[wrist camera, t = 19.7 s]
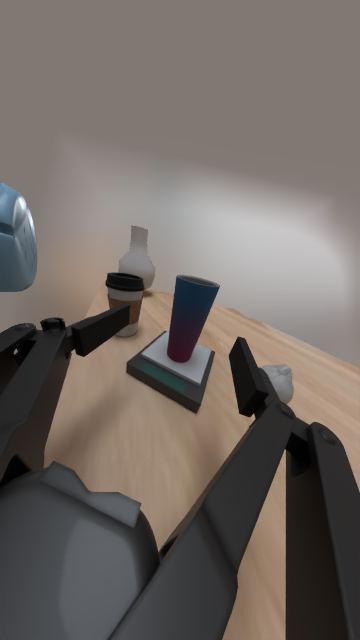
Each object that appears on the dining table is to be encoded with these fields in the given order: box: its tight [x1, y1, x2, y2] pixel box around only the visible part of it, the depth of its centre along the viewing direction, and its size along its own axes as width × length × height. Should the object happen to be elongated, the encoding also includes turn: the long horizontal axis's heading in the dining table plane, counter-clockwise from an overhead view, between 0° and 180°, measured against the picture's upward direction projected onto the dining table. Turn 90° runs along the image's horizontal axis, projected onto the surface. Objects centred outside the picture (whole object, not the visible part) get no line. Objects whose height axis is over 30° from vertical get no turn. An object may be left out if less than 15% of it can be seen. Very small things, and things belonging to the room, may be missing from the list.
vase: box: [119, 226, 155, 294], centre depth 59 cm, size 17×16×28 cm
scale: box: [126, 331, 215, 413], centre depth 27 cm, size 14×14×3 cm
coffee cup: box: [105, 273, 145, 337], centre depth 32 cm, size 8×8×15 cm
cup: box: [167, 275, 220, 363], centre depth 23 cm, size 7×7×15 cm
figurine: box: [261, 364, 294, 404], centre depth 24 cm, size 6×7×8 cm
